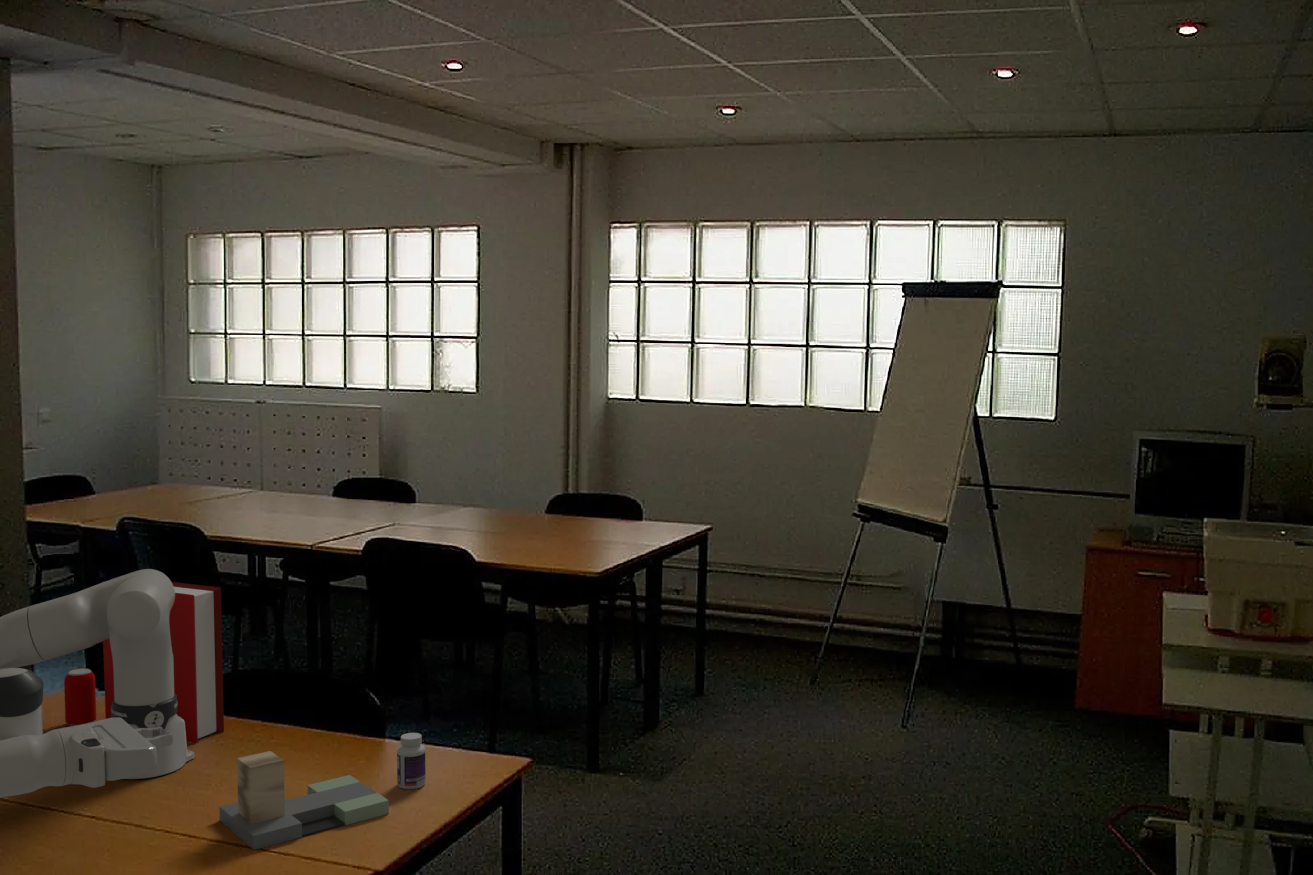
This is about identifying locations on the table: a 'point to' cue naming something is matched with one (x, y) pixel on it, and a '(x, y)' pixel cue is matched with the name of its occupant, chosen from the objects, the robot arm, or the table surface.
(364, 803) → the board
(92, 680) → the beverage can
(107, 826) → the table surface
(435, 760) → the table surface
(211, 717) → the book
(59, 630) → the robot arm
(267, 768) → the birch block
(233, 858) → the table surface
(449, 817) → the table surface
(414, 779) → the pill bottle
